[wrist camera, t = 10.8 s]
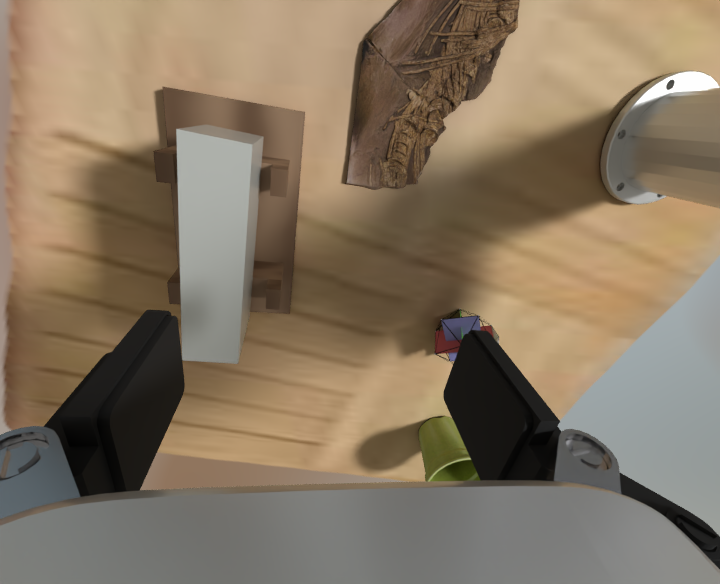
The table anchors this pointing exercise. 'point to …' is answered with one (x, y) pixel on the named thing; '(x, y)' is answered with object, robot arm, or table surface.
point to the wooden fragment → (421, 82)
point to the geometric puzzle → (457, 333)
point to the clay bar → (216, 238)
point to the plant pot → (445, 452)
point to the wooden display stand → (275, 184)
